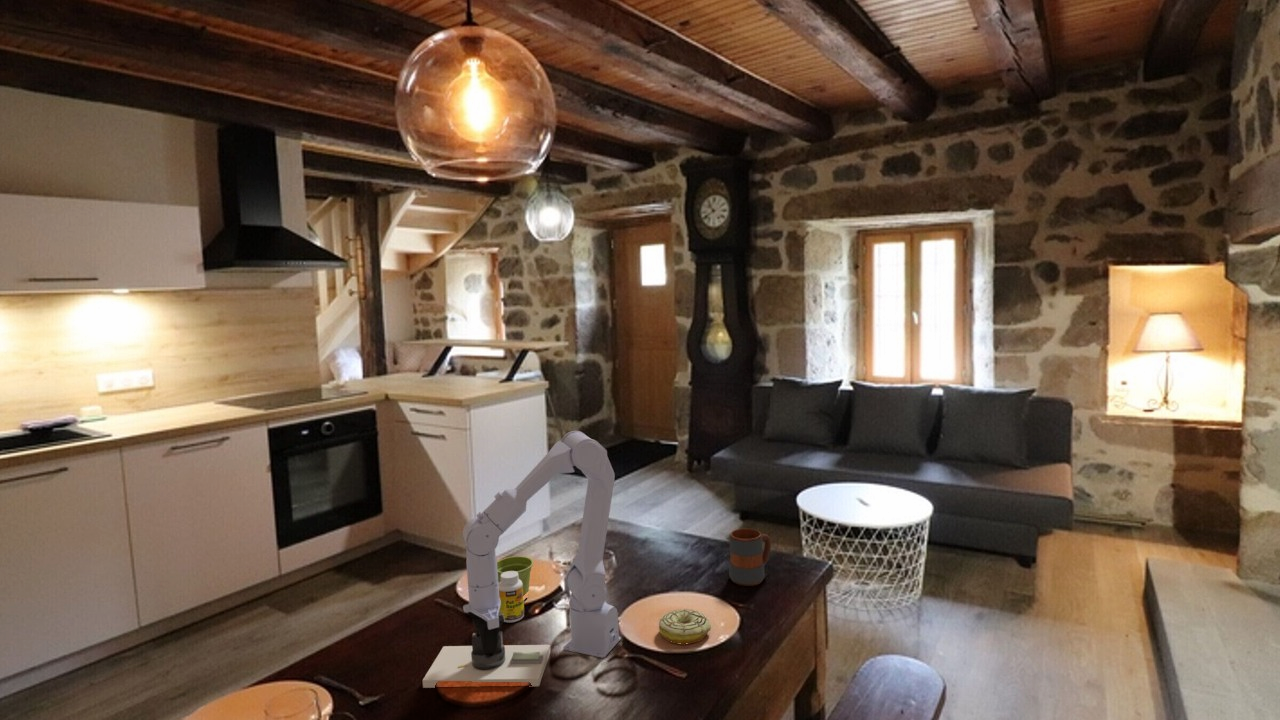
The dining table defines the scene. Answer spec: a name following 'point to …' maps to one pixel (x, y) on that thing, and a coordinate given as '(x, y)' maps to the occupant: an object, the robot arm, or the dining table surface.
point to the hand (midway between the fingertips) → (487, 647)
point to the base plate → (517, 667)
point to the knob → (490, 659)
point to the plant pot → (516, 569)
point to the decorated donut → (684, 626)
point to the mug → (748, 556)
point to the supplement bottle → (511, 597)
